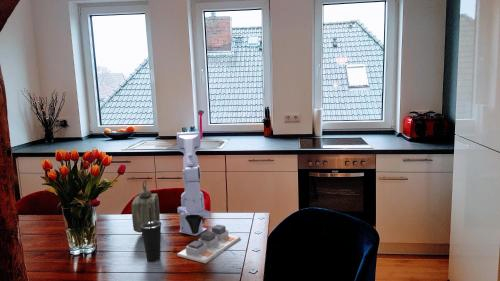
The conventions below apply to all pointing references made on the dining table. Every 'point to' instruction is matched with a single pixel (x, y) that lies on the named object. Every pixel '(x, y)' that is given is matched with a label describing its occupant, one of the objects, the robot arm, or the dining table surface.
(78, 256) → the dining table surface
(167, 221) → the dining table surface
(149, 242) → the drinking cup
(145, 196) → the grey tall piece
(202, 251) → the button board
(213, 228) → the button far
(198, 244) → the button near
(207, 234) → the button middle
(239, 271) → the dining table surface
